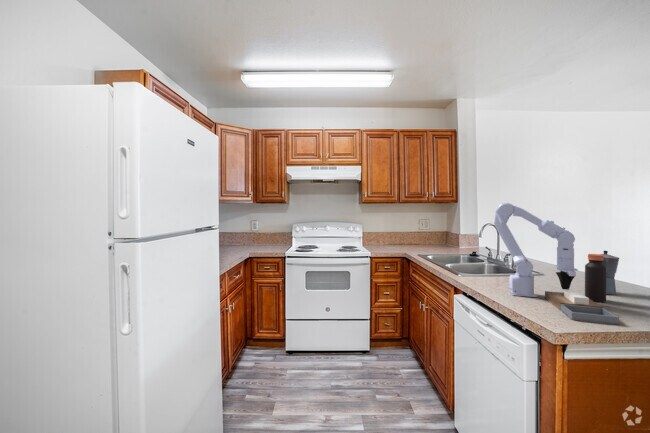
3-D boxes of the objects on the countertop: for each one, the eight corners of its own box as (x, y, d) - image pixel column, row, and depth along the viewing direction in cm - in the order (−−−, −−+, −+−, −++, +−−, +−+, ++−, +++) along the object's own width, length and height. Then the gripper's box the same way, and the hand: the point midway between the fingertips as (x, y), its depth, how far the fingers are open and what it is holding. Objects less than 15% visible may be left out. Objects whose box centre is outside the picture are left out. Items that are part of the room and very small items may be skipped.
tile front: (574, 303, 110) (574, 297, 110) (569, 299, 114) (569, 293, 114) (588, 304, 109) (588, 298, 109) (583, 301, 113) (583, 295, 113)
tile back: (568, 299, 115) (568, 293, 115) (564, 296, 119) (564, 290, 119) (582, 300, 113) (582, 294, 113) (577, 297, 117) (577, 291, 117)
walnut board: (560, 310, 111) (560, 302, 111) (544, 297, 127) (544, 291, 127) (602, 314, 106) (602, 306, 106) (581, 300, 122) (581, 294, 122)
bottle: (610, 303, 119) (611, 256, 118) (591, 302, 120) (592, 255, 120) (598, 298, 125) (598, 253, 125) (580, 297, 127) (581, 253, 126)
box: (571, 319, 102) (571, 312, 102) (560, 310, 111) (560, 304, 111) (618, 324, 97) (618, 317, 97) (603, 314, 106) (603, 308, 106)
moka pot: (626, 293, 131) (627, 251, 131) (604, 297, 127) (604, 253, 126) (601, 288, 140) (602, 248, 140) (580, 291, 136) (580, 250, 135)
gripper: (585, 261, 115) (585, 294, 115) (569, 256, 128) (569, 285, 129) (563, 260, 117) (563, 293, 118) (550, 255, 131) (550, 284, 131)
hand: (565, 289), depth 123 cm, fingers closed
